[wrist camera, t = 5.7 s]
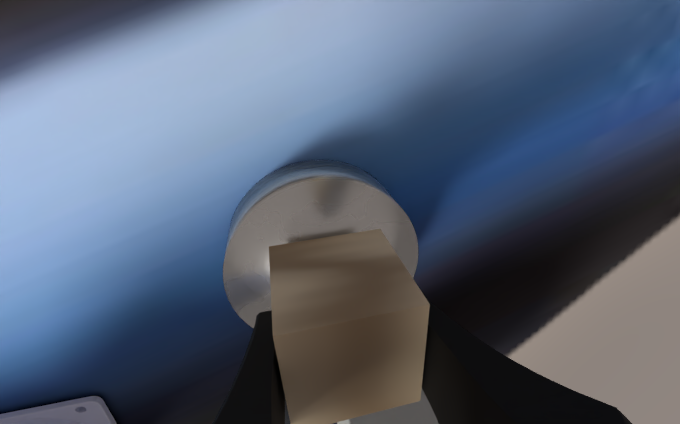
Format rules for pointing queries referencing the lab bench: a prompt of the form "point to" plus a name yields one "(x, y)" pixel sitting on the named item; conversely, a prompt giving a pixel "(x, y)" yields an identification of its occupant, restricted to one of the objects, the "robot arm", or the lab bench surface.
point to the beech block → (346, 327)
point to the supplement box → (399, 414)
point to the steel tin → (305, 223)
